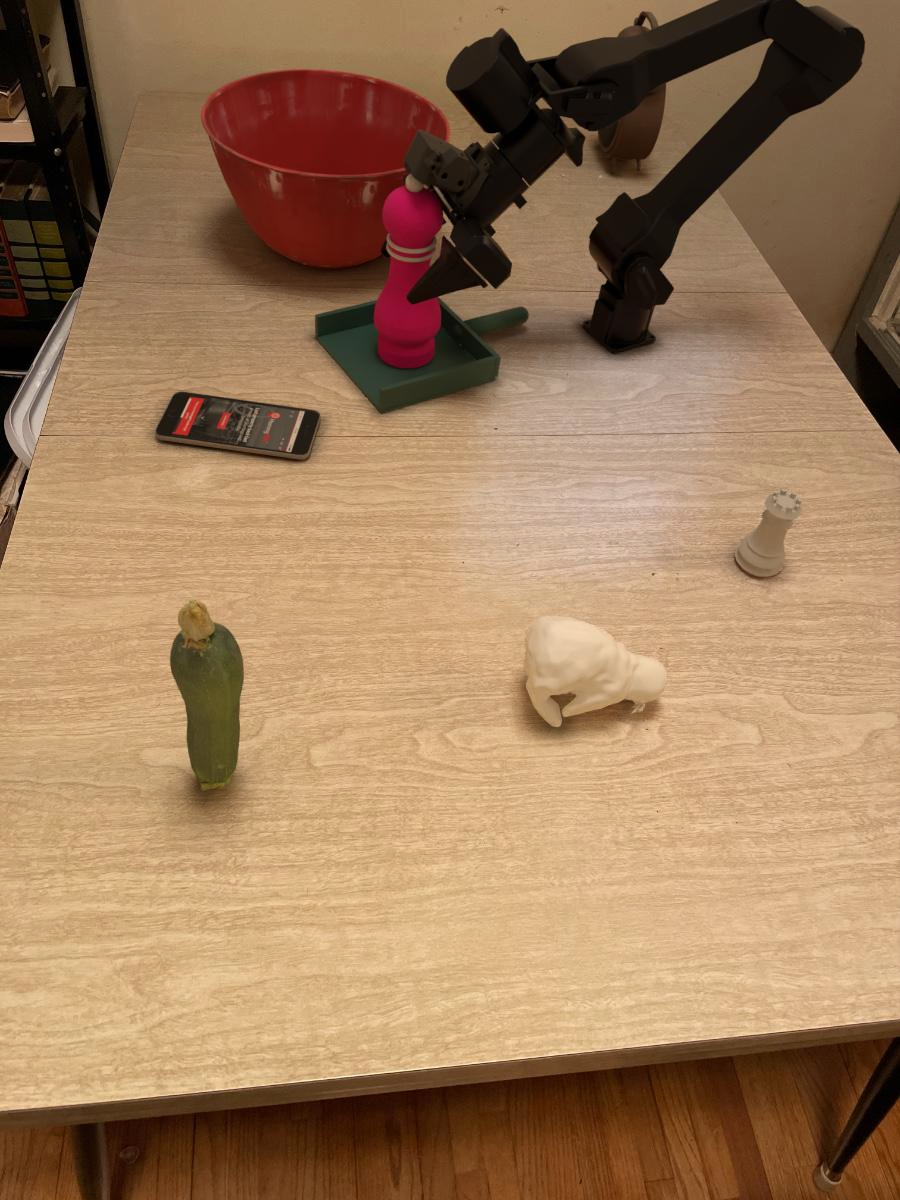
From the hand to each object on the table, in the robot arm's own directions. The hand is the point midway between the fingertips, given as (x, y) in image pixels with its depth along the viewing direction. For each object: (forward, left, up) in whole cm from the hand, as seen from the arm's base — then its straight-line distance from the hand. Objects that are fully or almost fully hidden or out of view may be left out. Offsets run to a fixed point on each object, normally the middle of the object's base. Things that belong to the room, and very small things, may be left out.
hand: (395, 277), depth 99 cm
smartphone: (+20, +4, -10) cm, 22 cm away
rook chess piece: (-15, +42, -10) cm, 46 cm away
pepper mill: (-2, 0, -10) cm, 10 cm away
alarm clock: (-57, -32, -10) cm, 66 cm away
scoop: (-6, 0, -10) cm, 12 cm away
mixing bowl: (-5, -26, -10) cm, 28 cm away
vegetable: (+37, +40, -10) cm, 55 cm away
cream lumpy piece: (+9, +47, -10) cm, 49 cm away
